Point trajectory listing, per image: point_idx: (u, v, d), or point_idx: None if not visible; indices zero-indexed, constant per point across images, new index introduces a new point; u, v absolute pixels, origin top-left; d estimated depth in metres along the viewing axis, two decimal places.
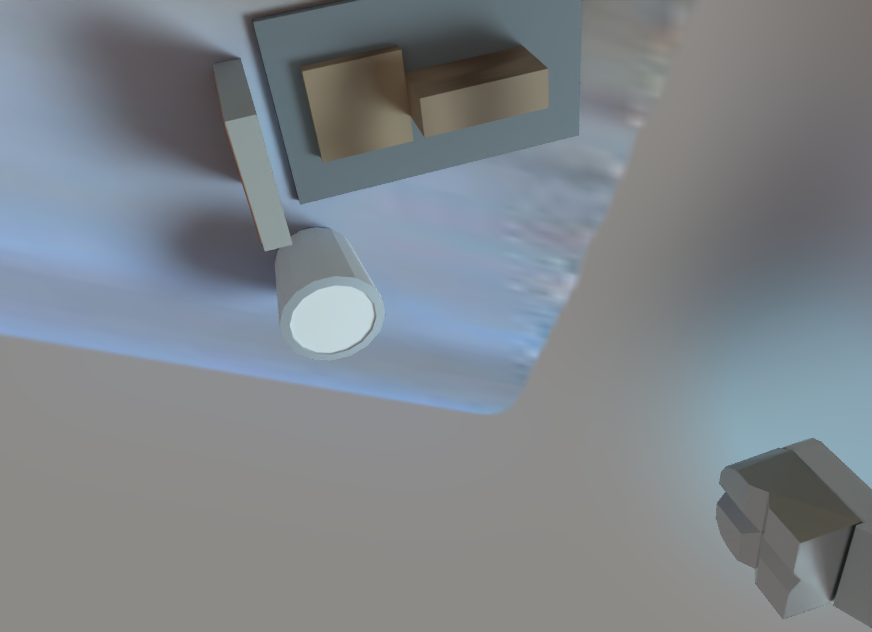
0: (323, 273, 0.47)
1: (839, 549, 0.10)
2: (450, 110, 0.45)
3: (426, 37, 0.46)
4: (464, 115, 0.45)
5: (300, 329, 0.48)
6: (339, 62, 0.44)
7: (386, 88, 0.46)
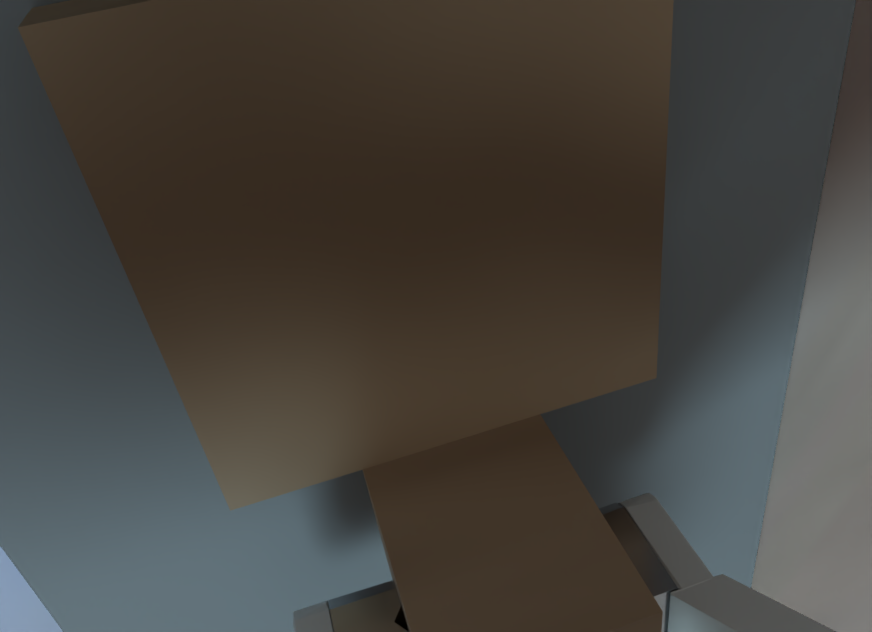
0: None
1: None
2: None
3: (631, 431, 0.12)
4: None
5: None
6: (663, 120, 0.09)
7: (505, 351, 0.10)
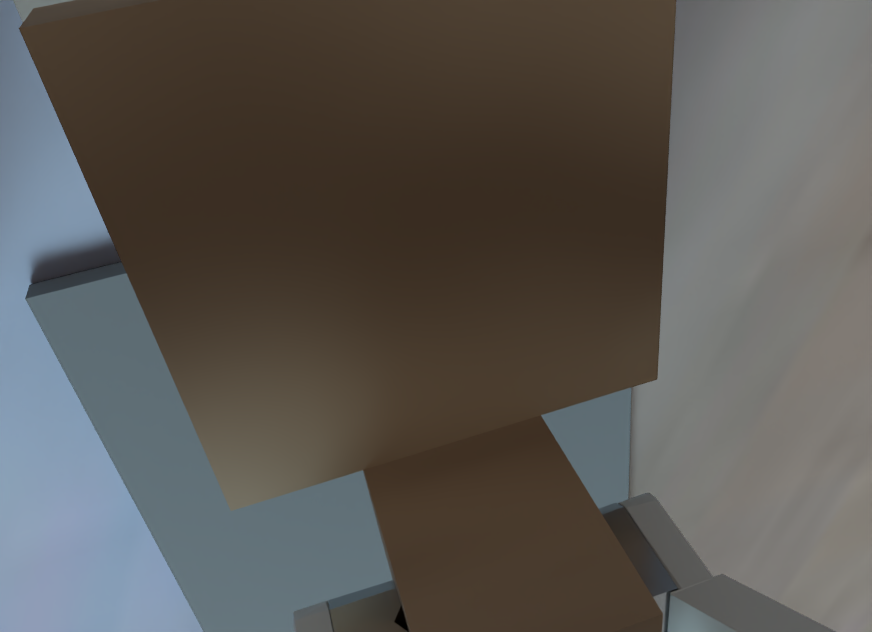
0: None
1: None
2: None
3: None
4: None
5: None
6: (666, 122, 0.08)
7: (506, 352, 0.10)
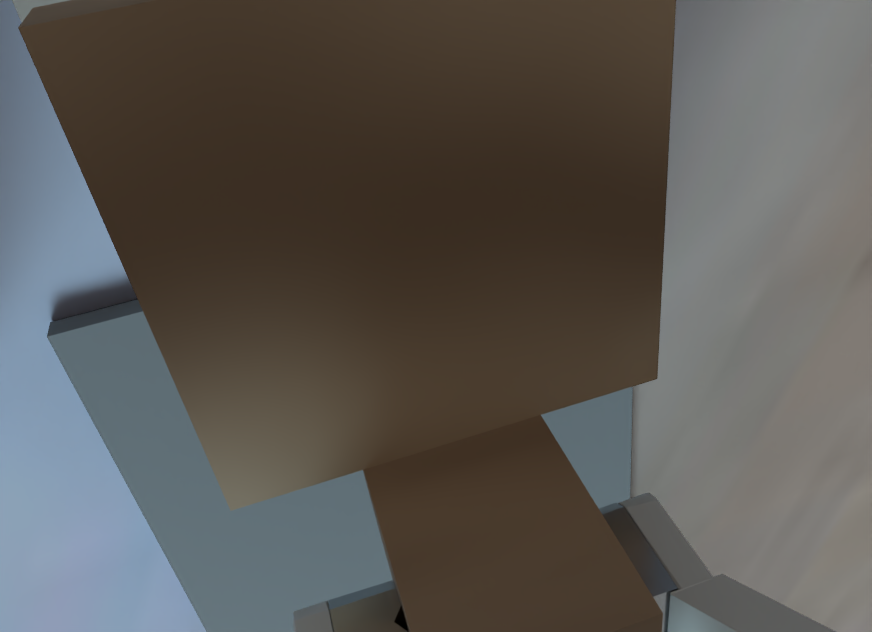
0: None
1: None
2: None
3: None
4: None
5: None
6: (665, 122, 0.08)
7: (506, 351, 0.10)
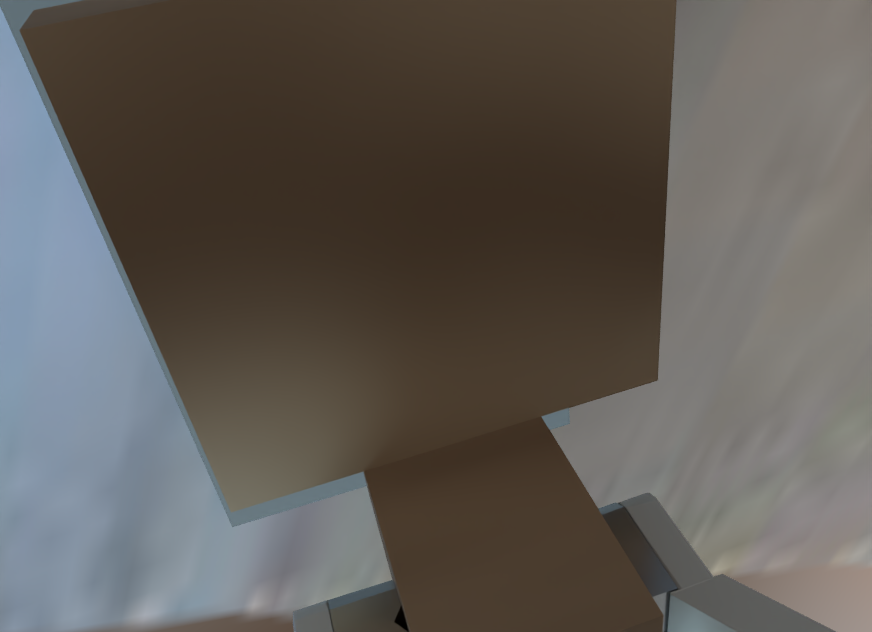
0: None
1: None
2: None
3: None
4: None
5: None
6: (666, 123, 0.08)
7: (507, 353, 0.10)
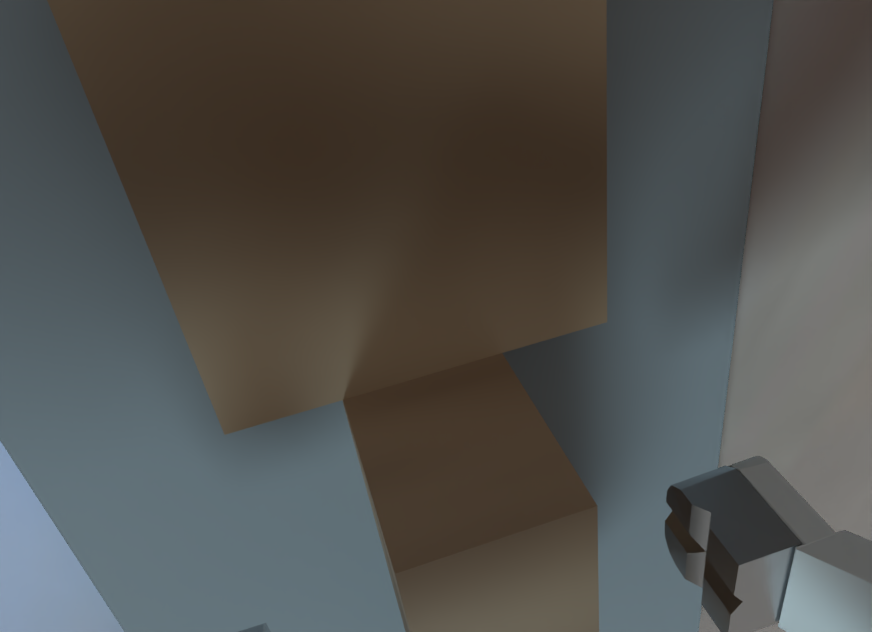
0: None
1: (780, 571, 0.10)
2: (514, 623, 0.10)
3: (589, 378, 0.13)
4: None
5: None
6: (603, 85, 0.10)
7: (469, 292, 0.11)
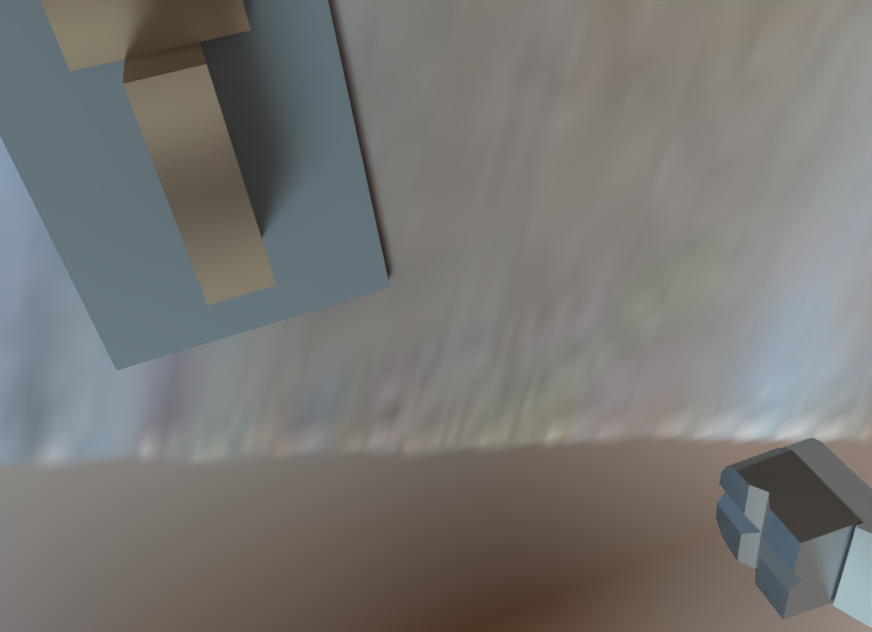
0: None
1: (839, 550, 0.10)
2: (186, 128, 0.24)
3: (263, 76, 0.27)
4: (179, 158, 0.24)
5: None
6: None
7: (175, 6, 0.25)
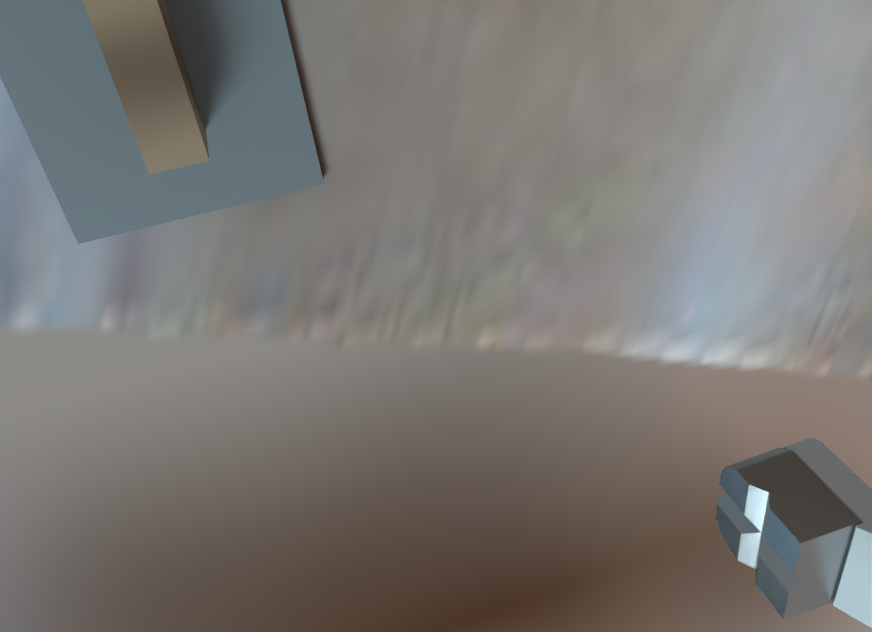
0: None
1: (839, 550, 0.10)
2: (125, 10, 0.28)
3: None
4: (120, 37, 0.28)
5: None
6: None
7: None
